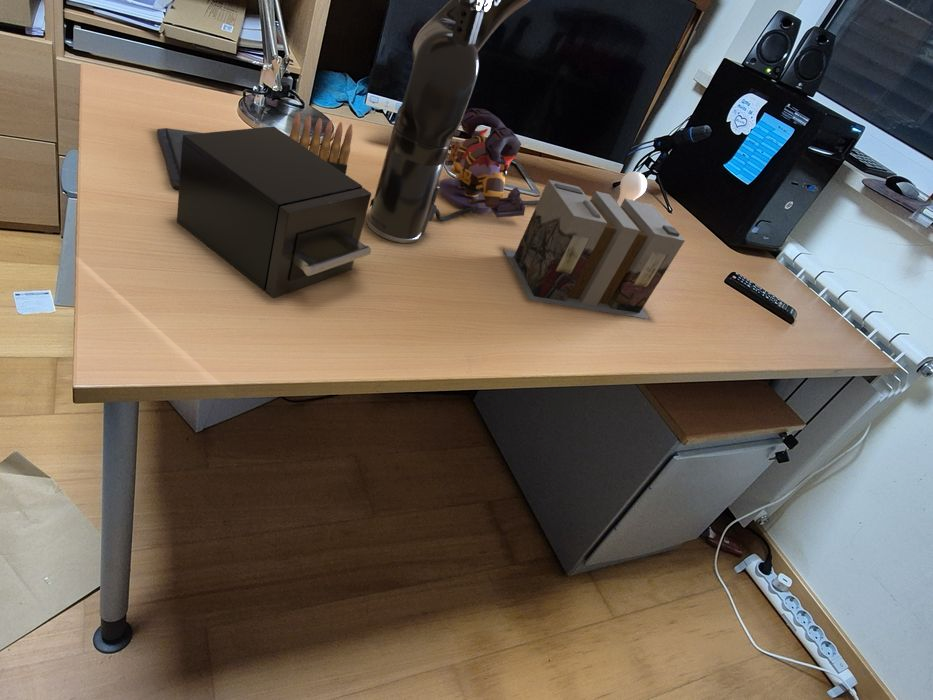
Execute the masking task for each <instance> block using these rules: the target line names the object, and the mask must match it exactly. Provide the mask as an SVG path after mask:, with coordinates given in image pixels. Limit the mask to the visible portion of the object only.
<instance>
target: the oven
mask: <svg viewBox="0 0 933 700" xmlns="http://www.w3.org/2000/svg"><path fill="white" fill-rule="evenodd" d="M289 136H290V135H288V134H286V133H285V132H283V131H282V130H280V129H279V128H277V127H276V126H264V127H253V128H242V129H231V130H222V131H210V132H199V133H198V134H188V135H183V139H182V140H183V141H182V152H181V167H180V182H179V190H178V196H177V197H178V198H177V210H176V211H177V213H176V223H177V224H178V225H179V226H181V227H182V228H183V229H185V230H186V231H187V232H188V233H190V234H191V235H192V236H193V237H195V238H196V239H197V240H198V241H200V242H201V243H202V244H204V245H205V246H206V247H207V248H209V250H211V251H212V252H214V253H215V254H216V255H217V256H218V257H220V258H221V259H222V260H223V261H225V262H226V263H227V264H229V265H230V266H231V267H233V269H235V270H236V271H238V272H239V273H240V274H241V275H243V276H244V277H245V278H246V279H248V280H249V281H250V282H251V283H253V284H254V285H255V286H256V287H258V288H259V289H261V290H262V291H263V292H266V285H267V279H268V273H269V267H270V261H271V255H272V249H273V243H274V237H275V232H276V226H277V220H278V214H279V208H280V206H284V205H288V204H293V203H297V202H302V201H306V200H311V199H315V198H320V197H324V196H329V195H333V194H337V193H342V192H346V191H351V190H355V189H360V188H364V187H363V185H362V184H360V183H359V182H358V181H356V180H355V179H353V178H352V177H350V176H349V175H347V173H346V174H344V173H343V172H341V171H340V170H338V169H337V168H335V167H334V166H332V165H331V164H329V163H328V162H326V161H325V160H323V159H322V158H320V157H319V156H317V155H316V154H314V153H313V152H311V151H310V150H309V148H308V149H307V148H305V147H304V146H302V145H301V144H299V142H296V141H295V140H293V139H292V138H290V137H289Z"/></svg>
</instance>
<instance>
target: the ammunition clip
mask: <svg viewBox="0 0 933 700" xmlns="http://www.w3.org/2000/svg"><path fill="white" fill-rule="evenodd" d="M300 128H301V115H300V113H299V112H297V114H295V117H294V119H293V122H292V126H291V130H290V133H289V135H288V136H289V137H290V138H292V139H293V140H295V141H296V142H298V143H299V144H301V145H302V146H304V147H305V148H307V149H308V150H310V151H311V152H313V153H314V154H316V155H317V156H319V157H320V158H322V159H323V160H325V161H326V162H328V163H329V164H331V165H332V166H334V167H335V168H337V169H338V170H340V171H341V172H343V173H344V174H346V175H347V169H348V162H349V158H350V154H351V144H352V138H353V124H352V123H351V124H349V126H348V127H347V129H346V132H345V134H344V137H343V122H342V121H340V122H339V123H338V125H337V127H336V129H335V132H334V137H333V139H332V134H333V120H332V119H329V121H328V122H327V124H326V126H325V129H324V132H323V137H322V131H323V130H322V129H323V120H322V118H321V117H319V118H318V119H317V121H316V123H315V126H314V129H313V133H312V137H311V132H312V131H311V129H312V117H311V115H308V116H307V117H306V119H305V122H304V124H303V127H302V128H303V129H302V132H301V135H300ZM342 137H343V141H342ZM310 138H311V139H310ZM321 138H322V140H321ZM331 140H332V141H331ZM341 143H342V144H341Z"/></svg>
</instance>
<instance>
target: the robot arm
mask: <svg viewBox="0 0 933 700" xmlns="http://www.w3.org/2000/svg"><path fill="white" fill-rule="evenodd" d="M531 1H532V0H449V1H447V3H446V4H445V5H444V6H443V7H441V9H440V10H439V11H438V12H437V13H435V14H434V15H433V17H431V18H430V19H429V20H428V21H427V22H426V23H425V24H424V25H423V26H422V27H421V28H420V29H419V31H418V32H417V34H416V36H415V38H414V41H413V44H412V50H411V56H412V62H413V63H412V64H413V65H412V67H411V68H412V69H411V73H410V76H409V80H408V83H407V87H406V90H405V94H404V96H403V100H402V103H401V104H400V106H399V107H398V109H397V112H396V115H395V118H394V122H393V126H392V130H391V133H390V137H389V141H388V144H387V147H386V148H387V149H386V152H385V156H384V161H383V163H382V167H381V171H380V173H379V178H378V182H377V185H376V189H375V193H374V196H373V198H372V199H370V202H369V206H368V208H370V211H369V214H368V215H367V220H366V223H367V226H368V227H369V229H370V230H371V231H372V232H373V233H374V234H376V235H377V236H379V237H381V238H383V239H385V240H388V241H390V242H394V243H399V244H412V243H416V242H417V241H419V240H420V238H421V236H424V235H425V233H426V229H427V227H428V224H429V223H430V222H433V220H434V217H436V220H437V221H440V222H446V221H449V220H452V219H454V218H456V217H458V216H461V215H463V214H468V213H473V212H472V211H475V210H476V209H475V208H474V207H470V208H466V209H460V210H457V211H454V212H452V213H449V214H448V215H445V216H442V215H441V212H440V210H439V209H438V206H437V205H436V200H437V197H438V194H439V192H438V191H439V183H438V182H439V179H440V176H441V174H442V171H443V168H444V165H445V161H446V158H447V156H448V152H449V150H450V148H451V145H452V141H453V138H454V136H455V134H456V133H457V131H458V130H459V128H460V126H461V122H462V119H463V116H464V114H465V112H466V111H467V108H468V105H469V103H470V100H471V97H472V95H473V92H474V89H475V85H476V83H477V80H478V75H479V72H480V71H479V70H480V58H479V51H480V50H481V49H482V48H483V46H484V45H485V43H486V42H487V41H488V40H489V38H490V37H491V36H492V34H494V32H495V31H496V30H497V29H498V27H499V26H501V24H502V23H503V22H504V21H506V19H508V18H509V17H510V16H511V15H512V14H514V13H515V12H516V11H518V10H519V9H521V8H522V7H524V6H525V5H527V4H528V3H530V2H531ZM538 201H539V199H538V200H523V202H524V206H532V205H534V206H535V205H537V204H538Z"/></svg>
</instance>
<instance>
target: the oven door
mask: <svg viewBox="0 0 933 700" xmlns="http://www.w3.org/2000/svg"><path fill="white" fill-rule="evenodd" d="M371 197H372V192H371V191H369V189H368V190H367V189H366V188H365V187H362V188H360V189H355V190H351V191H346V192H342V193H337V194H333V195H329V196H324V197H320V198H315V199H311V200H306V201H302V202H297V203H293V204H288V205H284V206H280V208H279V214H278V220H277V226H276V232H275V237H274V243H273V249H272V255H271V261H270V267H269V273H268V279H267V285H266V290H265V293H266V294H268V295H269V296H270V297H271V298H273V299H274V298H277V297H280V296H283V295H285V294H288V293H292V292H293V291H297V290H300V289H302V288H305V287H308V286H310V285H313V284H315V283H318V282H321V281H324V280H326V279H329V278H332V277H334V276H337V275H340V274H343V273H347V272H349V271H351V270H352V269H353V266H354V261H357V260H359V259H361V258H365V257H368V256H370V255H371V253H372V249H371V247H370V246H369V245H366V244H364V243H363V242H361V241H360V240H361V236H362V231H363V227H364V224H365V220H366V217H367V214H368V213H367V212H368V208H369V206H370V202H371Z"/></svg>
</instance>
